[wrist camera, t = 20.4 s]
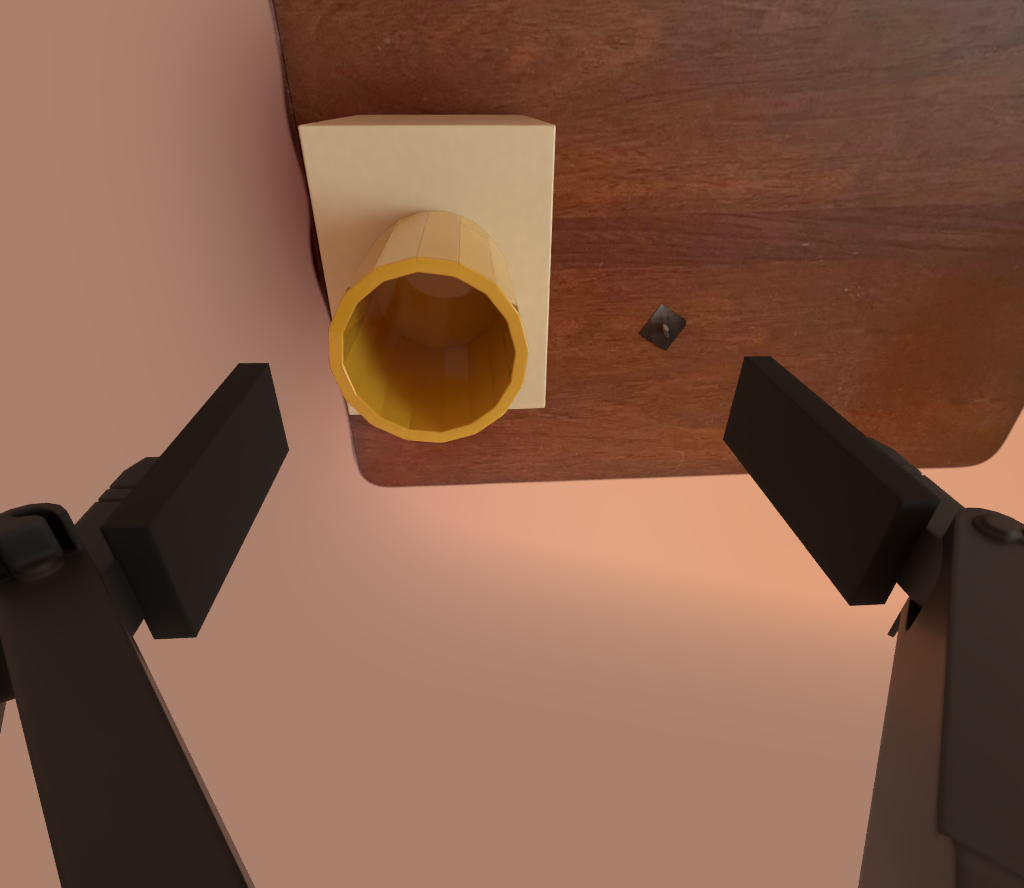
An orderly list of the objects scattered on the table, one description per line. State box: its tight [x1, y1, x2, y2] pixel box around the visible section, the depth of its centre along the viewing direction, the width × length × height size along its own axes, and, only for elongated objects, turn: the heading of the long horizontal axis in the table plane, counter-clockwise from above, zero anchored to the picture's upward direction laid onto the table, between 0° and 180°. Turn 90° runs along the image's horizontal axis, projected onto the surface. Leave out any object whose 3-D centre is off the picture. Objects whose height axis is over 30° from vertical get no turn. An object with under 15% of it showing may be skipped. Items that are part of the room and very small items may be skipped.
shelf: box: [298, 115, 556, 415], centre depth 34 cm, size 14×11×16 cm
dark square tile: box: [640, 304, 686, 350], centre depth 46 cm, size 3×3×1 cm
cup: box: [328, 210, 529, 443], centre depth 23 cm, size 7×7×9 cm
